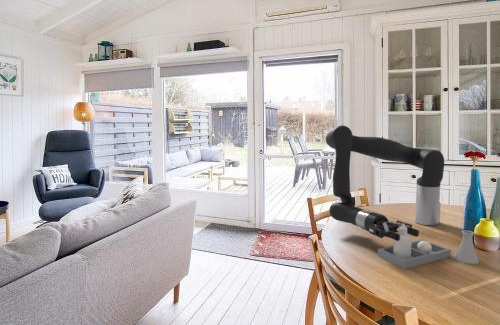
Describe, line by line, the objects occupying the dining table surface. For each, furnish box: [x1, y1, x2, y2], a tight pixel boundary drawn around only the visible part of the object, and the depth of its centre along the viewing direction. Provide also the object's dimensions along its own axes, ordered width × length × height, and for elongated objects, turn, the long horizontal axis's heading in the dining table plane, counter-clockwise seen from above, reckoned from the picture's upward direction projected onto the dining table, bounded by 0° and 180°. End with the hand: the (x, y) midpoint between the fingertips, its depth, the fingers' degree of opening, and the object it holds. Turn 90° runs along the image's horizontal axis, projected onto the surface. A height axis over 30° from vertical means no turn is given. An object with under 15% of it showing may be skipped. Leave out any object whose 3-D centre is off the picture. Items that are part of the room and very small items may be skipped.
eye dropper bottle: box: [392, 223, 413, 260], centre depth 102 cm, size 4×6×12 cm
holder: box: [377, 238, 452, 270], centre depth 105 cm, size 21×11×3 cm, turn 112°
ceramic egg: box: [417, 240, 432, 254], centre depth 106 cm, size 4×4×4 cm
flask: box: [453, 229, 480, 265], centre depth 101 cm, size 7×7×10 cm
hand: (408, 235), depth 100 cm, fingers open, 8 cm apart
